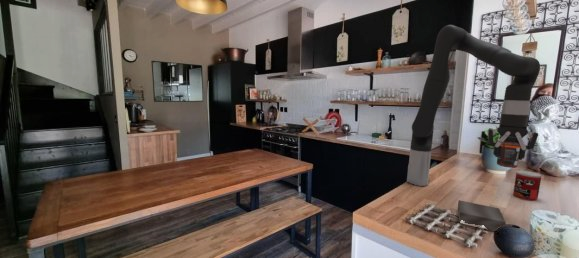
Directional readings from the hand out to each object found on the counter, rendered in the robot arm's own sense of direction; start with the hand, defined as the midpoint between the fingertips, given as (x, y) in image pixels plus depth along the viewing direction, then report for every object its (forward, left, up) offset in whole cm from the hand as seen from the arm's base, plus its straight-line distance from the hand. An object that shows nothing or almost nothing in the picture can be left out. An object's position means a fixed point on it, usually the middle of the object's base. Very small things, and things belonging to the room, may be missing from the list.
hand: (507, 157), depth 91 cm
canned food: (+12, +25, -21) cm, 35 cm away
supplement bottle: (0, 0, -3) cm, 3 cm away
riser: (-8, -14, -21) cm, 27 cm away
